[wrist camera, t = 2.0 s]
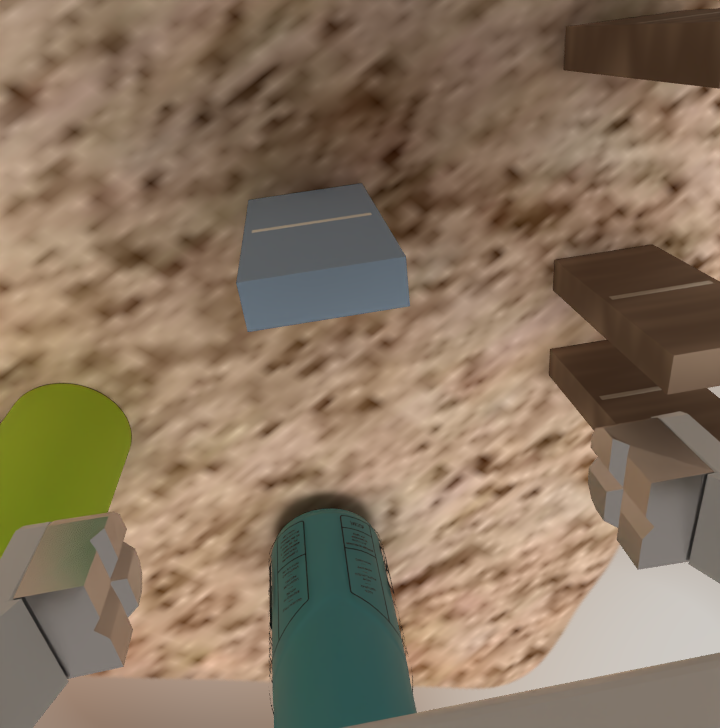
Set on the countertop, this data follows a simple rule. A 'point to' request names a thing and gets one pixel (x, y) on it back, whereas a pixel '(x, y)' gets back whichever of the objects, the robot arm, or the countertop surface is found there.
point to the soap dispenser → (59, 456)
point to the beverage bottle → (334, 626)
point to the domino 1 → (318, 259)
